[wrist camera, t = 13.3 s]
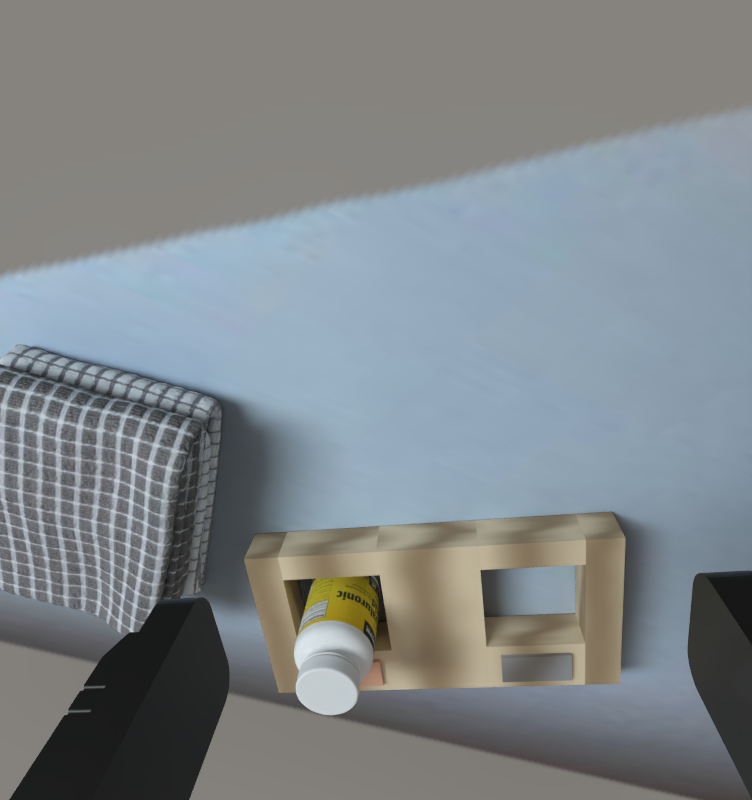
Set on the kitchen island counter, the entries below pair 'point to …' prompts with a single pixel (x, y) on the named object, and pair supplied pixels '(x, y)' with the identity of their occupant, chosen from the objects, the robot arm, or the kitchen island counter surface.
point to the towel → (103, 486)
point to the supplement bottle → (336, 642)
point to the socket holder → (454, 599)
